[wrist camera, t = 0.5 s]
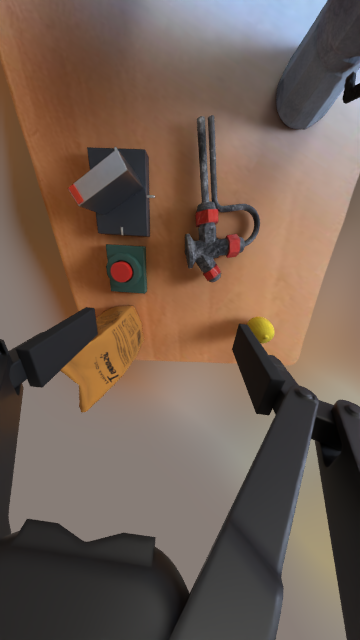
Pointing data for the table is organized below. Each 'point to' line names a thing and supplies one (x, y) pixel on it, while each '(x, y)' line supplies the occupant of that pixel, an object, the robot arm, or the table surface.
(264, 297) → the table surface
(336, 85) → the moka pot
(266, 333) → the lemon
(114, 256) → the drain button box
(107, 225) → the base
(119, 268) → the button
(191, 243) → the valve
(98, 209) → the tap lever
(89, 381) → the coffee package
